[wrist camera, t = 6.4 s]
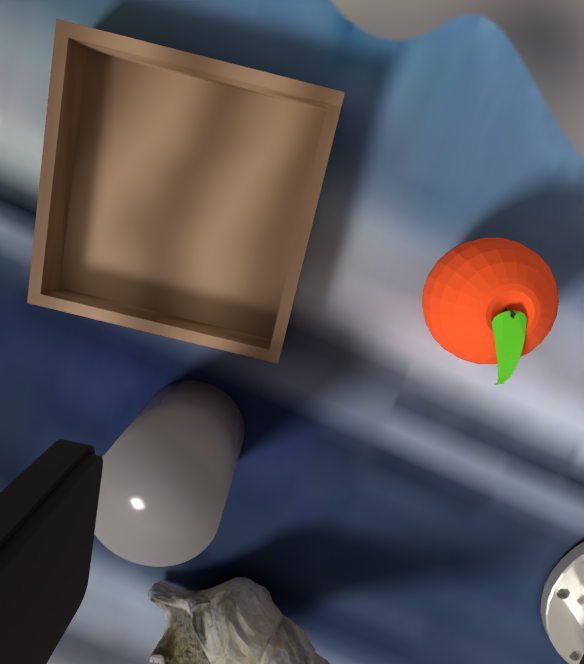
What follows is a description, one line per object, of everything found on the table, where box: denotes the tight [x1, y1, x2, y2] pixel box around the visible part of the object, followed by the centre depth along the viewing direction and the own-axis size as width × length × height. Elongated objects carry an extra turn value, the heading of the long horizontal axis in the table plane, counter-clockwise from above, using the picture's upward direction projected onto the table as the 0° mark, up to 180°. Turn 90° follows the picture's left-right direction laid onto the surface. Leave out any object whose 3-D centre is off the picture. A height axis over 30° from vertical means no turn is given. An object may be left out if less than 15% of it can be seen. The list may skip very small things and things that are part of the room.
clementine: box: [422, 238, 559, 385], centre depth 27 cm, size 8×7×7 cm
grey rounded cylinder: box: [94, 380, 245, 567], centre depth 29 cm, size 7×7×9 cm
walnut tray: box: [27, 19, 345, 364], centre depth 28 cm, size 15×15×3 cm
